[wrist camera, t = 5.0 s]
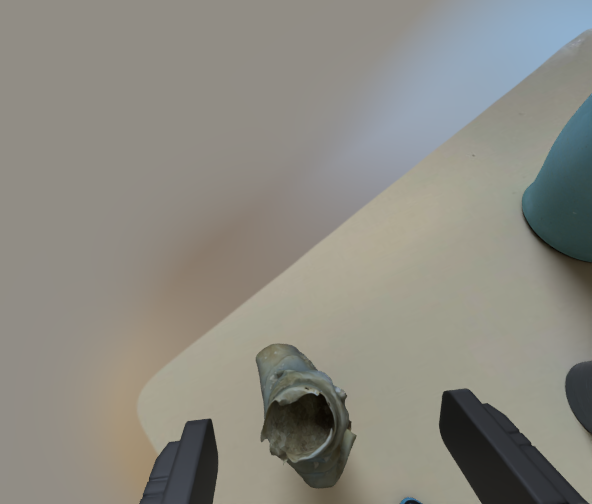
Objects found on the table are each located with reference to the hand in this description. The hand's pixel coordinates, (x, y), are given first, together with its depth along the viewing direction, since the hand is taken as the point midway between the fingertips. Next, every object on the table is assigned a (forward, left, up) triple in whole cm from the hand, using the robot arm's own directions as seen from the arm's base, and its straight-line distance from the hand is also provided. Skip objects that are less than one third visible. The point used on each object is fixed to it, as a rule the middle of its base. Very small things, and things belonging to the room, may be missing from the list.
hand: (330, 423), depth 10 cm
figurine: (+1, 0, -17) cm, 17 cm away
